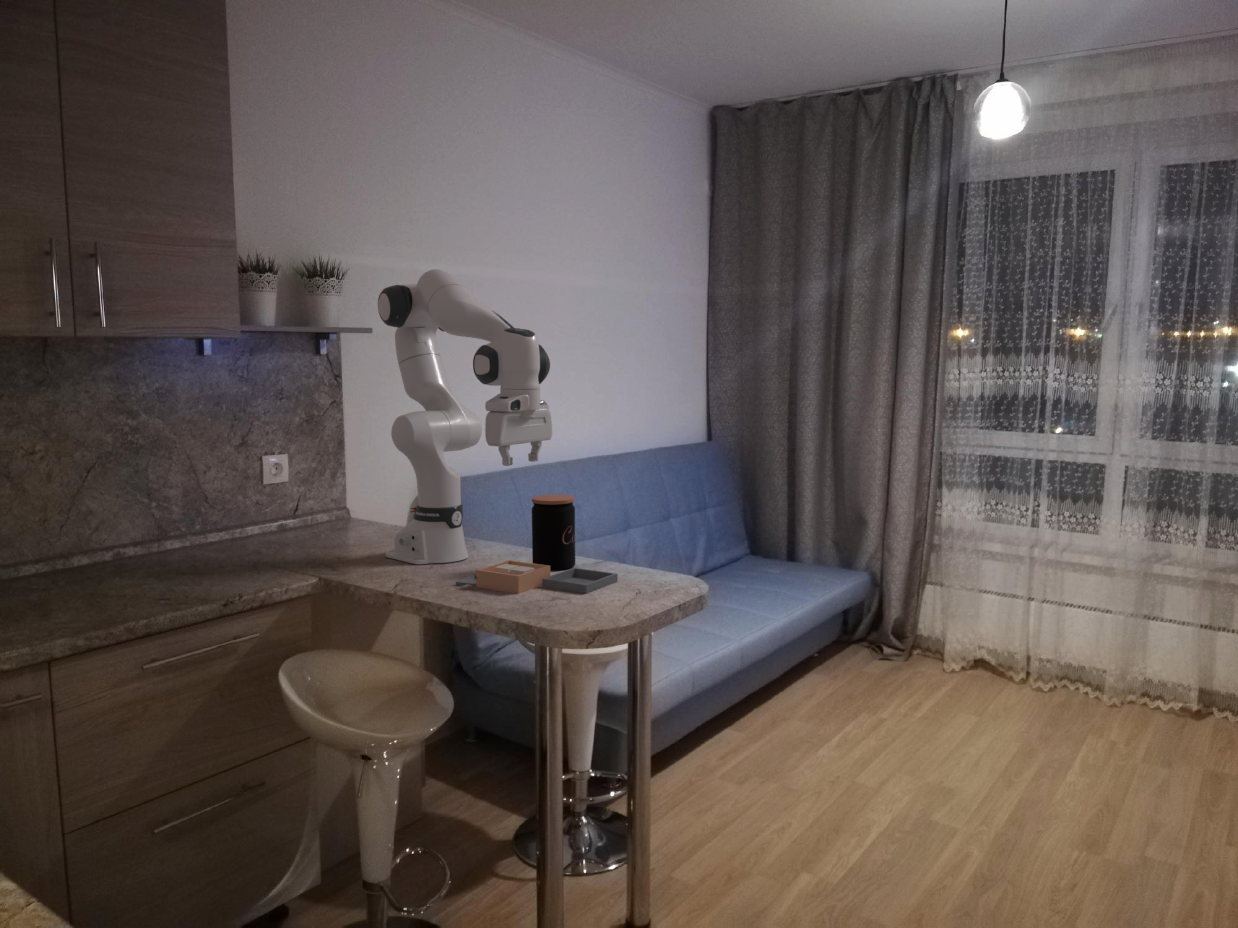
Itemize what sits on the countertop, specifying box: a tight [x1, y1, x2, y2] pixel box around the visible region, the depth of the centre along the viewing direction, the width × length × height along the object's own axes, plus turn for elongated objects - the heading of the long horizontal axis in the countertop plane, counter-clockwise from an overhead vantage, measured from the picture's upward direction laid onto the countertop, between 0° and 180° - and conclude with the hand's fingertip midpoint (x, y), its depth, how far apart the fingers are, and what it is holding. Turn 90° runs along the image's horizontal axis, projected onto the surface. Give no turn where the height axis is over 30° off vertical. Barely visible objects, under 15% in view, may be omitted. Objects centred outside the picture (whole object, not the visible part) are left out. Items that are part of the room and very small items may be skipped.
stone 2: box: [510, 566, 535, 575], centre depth 210 cm, size 4×4×4 cm
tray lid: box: [455, 573, 477, 587], centre depth 216 cm, size 7×10×2 cm
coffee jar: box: [531, 494, 576, 572], centre depth 229 cm, size 11×11×18 cm
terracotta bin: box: [475, 559, 551, 595], centre depth 211 cm, size 12×12×4 cm
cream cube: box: [495, 564, 519, 574], centre depth 212 cm, size 4×4×4 cm
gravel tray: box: [541, 567, 618, 595], centre depth 211 cm, size 12×13×2 cm
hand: (520, 463), depth 207 cm, fingers open, 8 cm apart
